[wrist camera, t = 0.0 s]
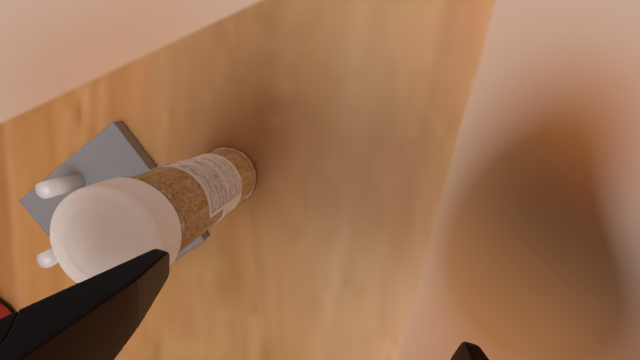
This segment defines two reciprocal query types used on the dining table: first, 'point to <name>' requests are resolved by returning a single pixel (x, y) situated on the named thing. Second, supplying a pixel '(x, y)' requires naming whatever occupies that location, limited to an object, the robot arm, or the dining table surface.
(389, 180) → the dining table surface
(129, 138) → the pin tray
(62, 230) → the sprinkles bottle
